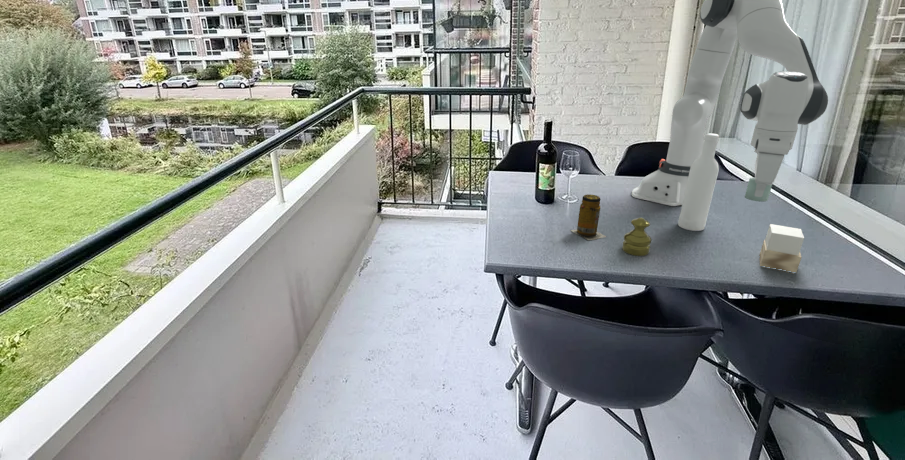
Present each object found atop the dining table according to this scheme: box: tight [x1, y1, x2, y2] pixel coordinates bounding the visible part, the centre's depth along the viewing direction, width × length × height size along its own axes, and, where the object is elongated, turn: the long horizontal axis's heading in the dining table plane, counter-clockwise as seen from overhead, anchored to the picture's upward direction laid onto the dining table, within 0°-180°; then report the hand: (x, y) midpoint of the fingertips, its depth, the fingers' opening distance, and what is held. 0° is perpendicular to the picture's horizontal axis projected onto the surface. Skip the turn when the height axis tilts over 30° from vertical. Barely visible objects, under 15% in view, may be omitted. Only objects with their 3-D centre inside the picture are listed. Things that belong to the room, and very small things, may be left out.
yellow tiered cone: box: [621, 217, 653, 257], centre depth 129 cm, size 7×8×10 cm
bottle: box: [677, 132, 720, 232], centre depth 143 cm, size 8×8×30 cm
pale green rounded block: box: [744, 176, 773, 203], centre depth 120 cm, size 5×5×5 cm
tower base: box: [758, 239, 803, 273], centre depth 124 cm, size 8×8×5 cm
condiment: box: [569, 194, 607, 241], centre depth 140 cm, size 7×8×12 cm
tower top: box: [764, 223, 805, 256], centre depth 122 cm, size 7×7×5 cm
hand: (757, 192), depth 120 cm, fingers closed on pale green rounded block, 5 cm apart
